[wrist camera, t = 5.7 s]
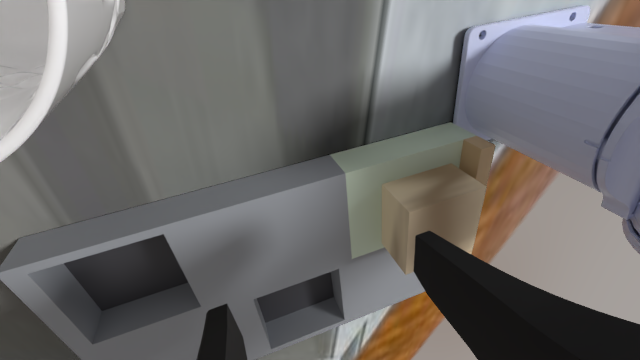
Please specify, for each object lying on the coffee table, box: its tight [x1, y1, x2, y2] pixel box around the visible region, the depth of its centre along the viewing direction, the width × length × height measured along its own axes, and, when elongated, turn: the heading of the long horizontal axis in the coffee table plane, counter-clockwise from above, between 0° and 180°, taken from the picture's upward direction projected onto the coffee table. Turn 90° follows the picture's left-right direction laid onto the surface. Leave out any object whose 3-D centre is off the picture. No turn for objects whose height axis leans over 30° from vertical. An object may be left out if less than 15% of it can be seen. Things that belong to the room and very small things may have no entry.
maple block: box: [382, 163, 486, 275], centre depth 20 cm, size 5×5×3 cm
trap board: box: [0, 122, 495, 360], centre depth 21 cm, size 26×14×4 cm, turn 96°
